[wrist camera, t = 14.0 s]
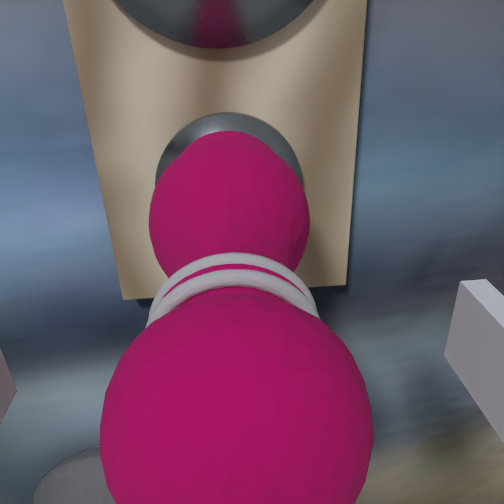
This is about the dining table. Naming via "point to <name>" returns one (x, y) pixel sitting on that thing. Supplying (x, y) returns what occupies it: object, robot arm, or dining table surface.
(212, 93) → the tan flat board
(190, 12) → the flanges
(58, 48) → the dining table surface
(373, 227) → the dining table surface
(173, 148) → the flange
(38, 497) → the coffee pot
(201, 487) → the pepper mill
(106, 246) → the dining table surface
